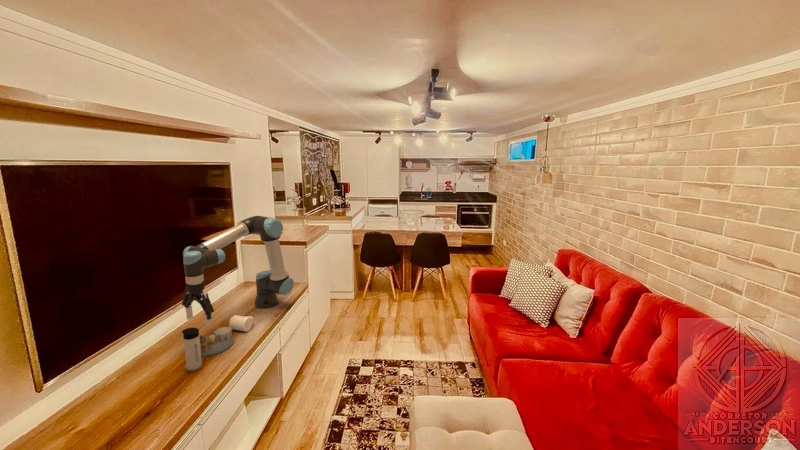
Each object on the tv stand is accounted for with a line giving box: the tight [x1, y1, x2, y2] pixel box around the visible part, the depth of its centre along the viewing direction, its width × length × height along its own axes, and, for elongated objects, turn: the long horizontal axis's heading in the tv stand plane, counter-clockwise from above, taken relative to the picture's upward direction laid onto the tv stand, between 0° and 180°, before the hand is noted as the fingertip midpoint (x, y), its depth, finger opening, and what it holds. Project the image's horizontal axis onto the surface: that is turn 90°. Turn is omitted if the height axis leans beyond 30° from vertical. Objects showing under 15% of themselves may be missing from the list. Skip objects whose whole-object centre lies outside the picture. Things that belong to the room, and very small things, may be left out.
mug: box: [228, 314, 254, 333], centre depth 190 cm, size 12×10×8 cm
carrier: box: [201, 326, 235, 358], centre depth 172 cm, size 21×20×6 cm
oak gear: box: [199, 335, 211, 354], centre depth 165 cm, size 8×8×6 cm
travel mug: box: [181, 327, 203, 372], centre depth 152 cm, size 6×7×20 cm
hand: (199, 321), depth 163 cm, fingers open, 13 cm apart
